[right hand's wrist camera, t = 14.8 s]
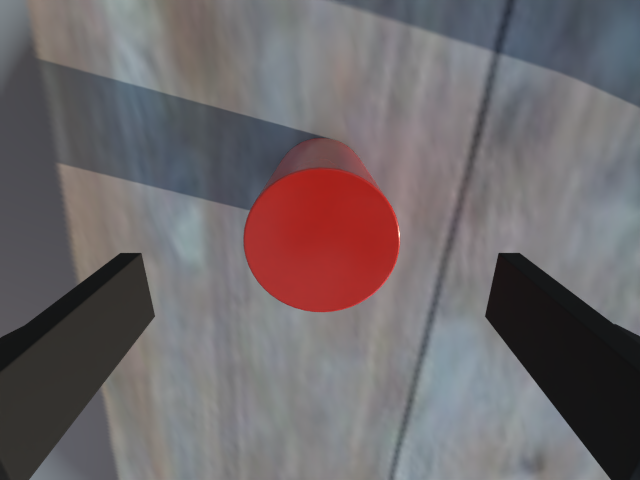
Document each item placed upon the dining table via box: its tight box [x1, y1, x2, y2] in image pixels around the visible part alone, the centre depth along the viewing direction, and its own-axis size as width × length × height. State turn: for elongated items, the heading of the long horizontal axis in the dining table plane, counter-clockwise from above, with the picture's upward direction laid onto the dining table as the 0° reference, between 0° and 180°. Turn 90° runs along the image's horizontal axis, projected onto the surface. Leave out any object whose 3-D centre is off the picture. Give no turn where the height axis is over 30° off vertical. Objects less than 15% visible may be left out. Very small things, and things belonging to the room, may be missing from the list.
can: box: [243, 138, 400, 312], centre depth 22 cm, size 7×7×13 cm
